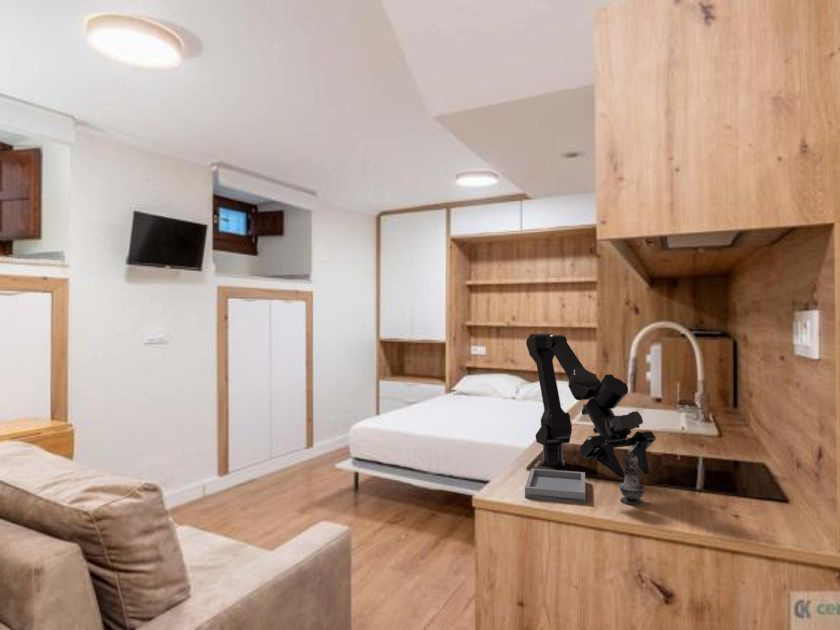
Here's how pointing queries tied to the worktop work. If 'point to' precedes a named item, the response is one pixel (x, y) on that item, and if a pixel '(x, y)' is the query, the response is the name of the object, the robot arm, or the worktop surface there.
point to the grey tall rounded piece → (631, 483)
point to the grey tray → (556, 485)
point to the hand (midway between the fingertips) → (635, 475)
